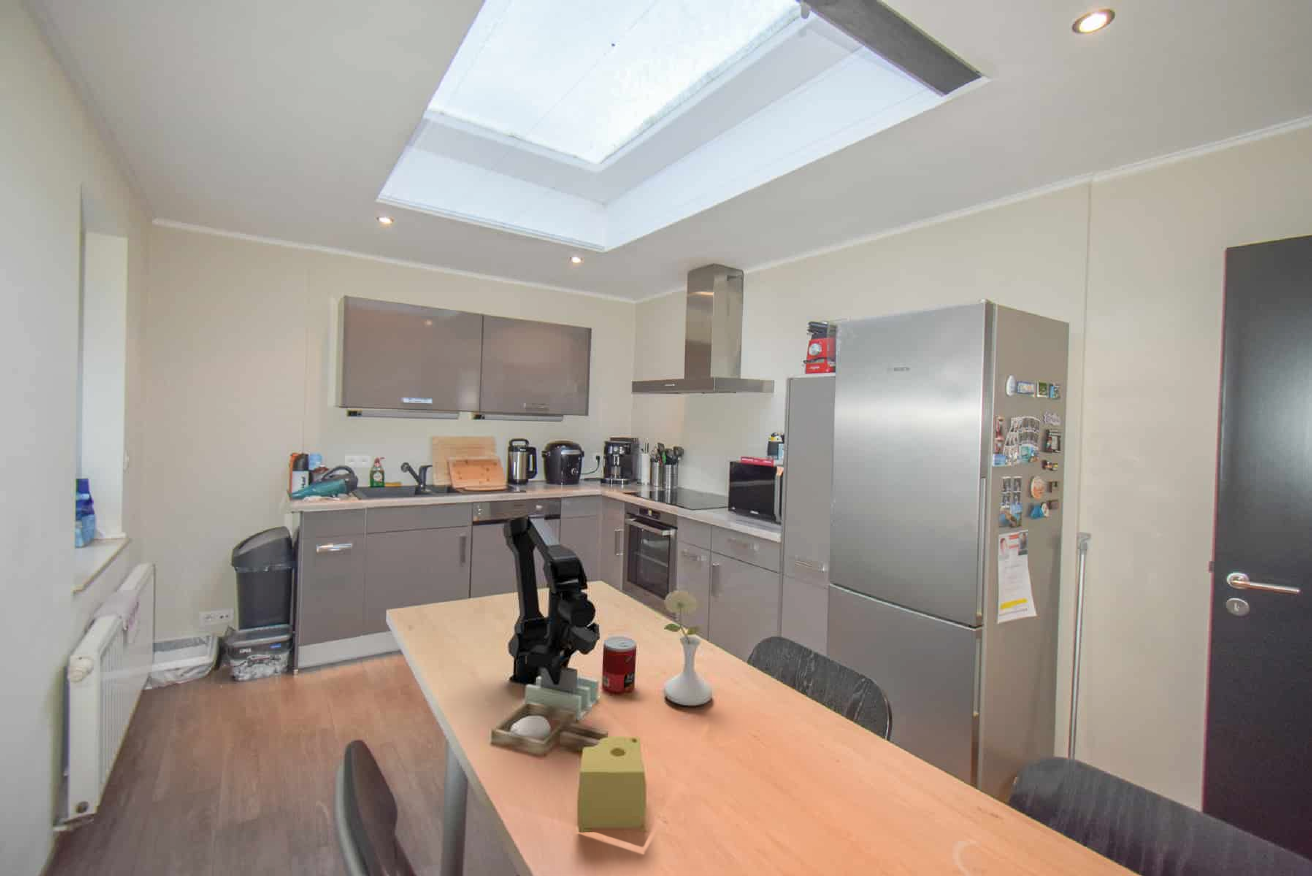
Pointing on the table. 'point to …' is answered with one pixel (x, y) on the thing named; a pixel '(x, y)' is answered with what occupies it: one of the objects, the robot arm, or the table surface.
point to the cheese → (611, 785)
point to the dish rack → (566, 696)
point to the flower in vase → (686, 656)
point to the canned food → (619, 665)
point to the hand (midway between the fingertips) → (558, 682)
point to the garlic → (532, 727)
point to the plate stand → (580, 738)
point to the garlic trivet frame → (530, 744)
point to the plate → (561, 680)
